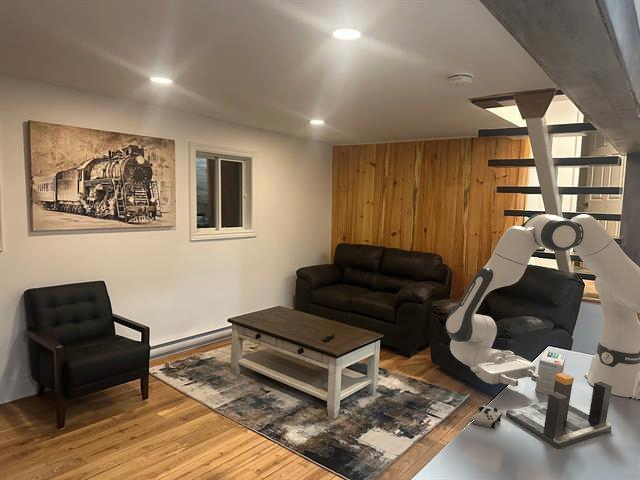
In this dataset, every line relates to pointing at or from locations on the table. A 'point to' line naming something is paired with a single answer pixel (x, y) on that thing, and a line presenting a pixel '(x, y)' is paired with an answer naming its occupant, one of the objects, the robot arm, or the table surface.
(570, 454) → the table surface
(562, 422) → the grey peg stand
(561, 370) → the light bulb box
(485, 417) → the game controller
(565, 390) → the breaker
